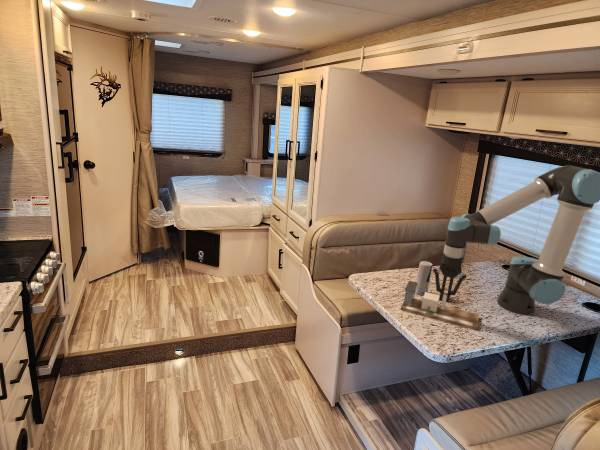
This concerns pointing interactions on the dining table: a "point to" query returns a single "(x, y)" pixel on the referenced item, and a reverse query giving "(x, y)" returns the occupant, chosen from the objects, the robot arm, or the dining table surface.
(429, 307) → the cream cube with rod
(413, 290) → the two-tone oblong block
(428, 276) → the beverage can
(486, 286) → the dining table surface
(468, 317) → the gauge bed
